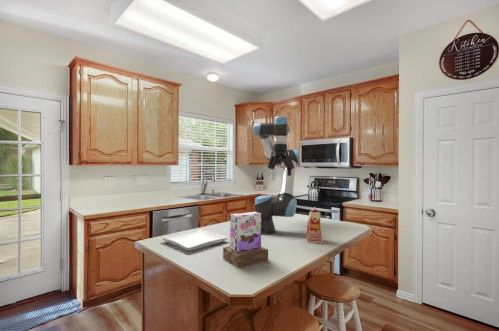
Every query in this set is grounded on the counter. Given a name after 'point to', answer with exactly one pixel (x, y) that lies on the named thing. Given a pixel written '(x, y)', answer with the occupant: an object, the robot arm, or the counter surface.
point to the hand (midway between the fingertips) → (280, 180)
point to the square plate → (194, 239)
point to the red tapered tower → (314, 227)
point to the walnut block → (245, 256)
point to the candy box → (245, 231)
